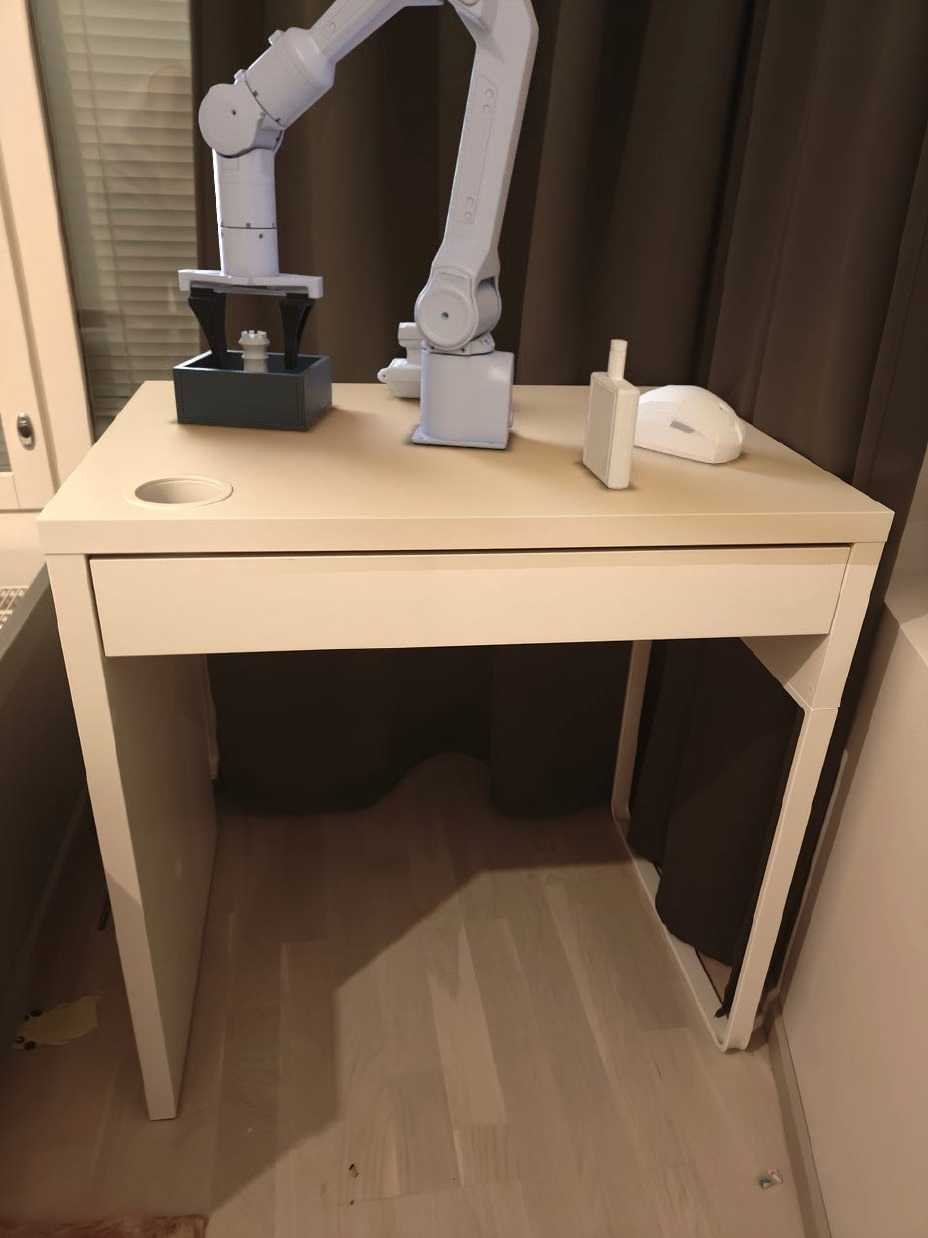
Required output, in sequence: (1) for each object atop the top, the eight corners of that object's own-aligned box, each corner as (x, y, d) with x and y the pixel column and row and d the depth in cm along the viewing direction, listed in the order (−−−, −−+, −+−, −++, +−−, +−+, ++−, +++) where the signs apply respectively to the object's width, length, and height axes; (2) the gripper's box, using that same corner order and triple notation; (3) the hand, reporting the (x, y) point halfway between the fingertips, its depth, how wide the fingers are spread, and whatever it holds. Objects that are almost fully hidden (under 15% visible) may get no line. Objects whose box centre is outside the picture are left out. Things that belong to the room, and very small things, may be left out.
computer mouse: (720, 467, 88) (731, 402, 85) (607, 439, 95) (614, 379, 93) (750, 455, 92) (762, 393, 89) (641, 429, 100) (648, 371, 97)
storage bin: (332, 406, 104) (331, 356, 101) (305, 431, 93) (303, 376, 91) (216, 398, 105) (212, 348, 102) (177, 422, 94) (172, 367, 92)
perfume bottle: (580, 463, 87) (593, 333, 82) (600, 462, 87) (614, 333, 82) (607, 489, 80) (623, 348, 75) (629, 488, 80) (646, 349, 75)
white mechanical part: (452, 392, 113) (455, 321, 110) (450, 403, 107) (452, 329, 104) (380, 388, 113) (380, 318, 110) (374, 400, 107) (374, 326, 104)
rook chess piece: (287, 408, 99) (284, 332, 96) (258, 415, 96) (254, 337, 92) (257, 402, 101) (253, 327, 98) (228, 409, 98) (222, 332, 95)
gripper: (161, 225, 88) (175, 368, 94) (308, 232, 87) (313, 377, 93) (188, 222, 94) (200, 356, 100) (326, 229, 93) (329, 364, 99)
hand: (255, 365), depth 97 cm, fingers open, 7 cm apart
